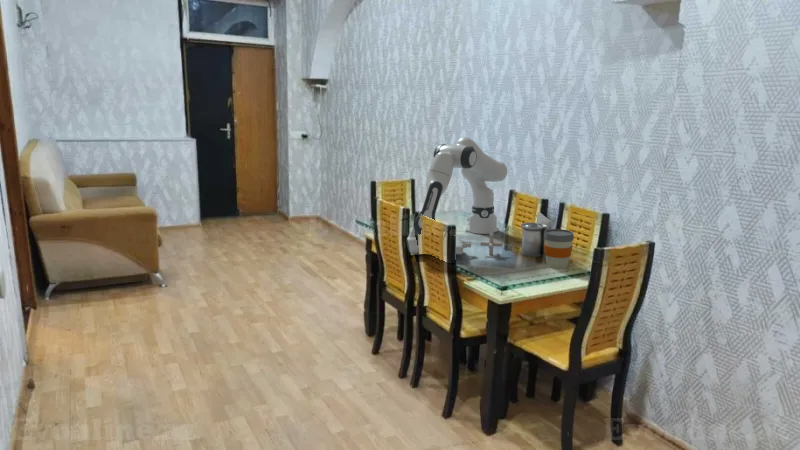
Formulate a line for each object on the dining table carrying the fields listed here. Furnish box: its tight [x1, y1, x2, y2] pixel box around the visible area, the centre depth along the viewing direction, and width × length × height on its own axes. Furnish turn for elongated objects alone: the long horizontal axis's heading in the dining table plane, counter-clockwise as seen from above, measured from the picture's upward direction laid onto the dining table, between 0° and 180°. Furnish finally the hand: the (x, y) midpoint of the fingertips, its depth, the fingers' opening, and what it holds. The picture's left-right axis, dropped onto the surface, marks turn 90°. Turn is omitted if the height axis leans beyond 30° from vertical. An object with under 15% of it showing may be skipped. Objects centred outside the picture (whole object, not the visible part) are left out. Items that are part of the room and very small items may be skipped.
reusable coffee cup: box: [544, 228, 575, 270], centre depth 242 cm, size 12×13×15 cm
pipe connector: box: [479, 233, 503, 256], centre depth 260 cm, size 10×10×10 cm
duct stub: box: [520, 211, 552, 260], centre depth 260 cm, size 20×11×18 cm, turn 1°
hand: (470, 244), depth 261 cm, fingers closed
